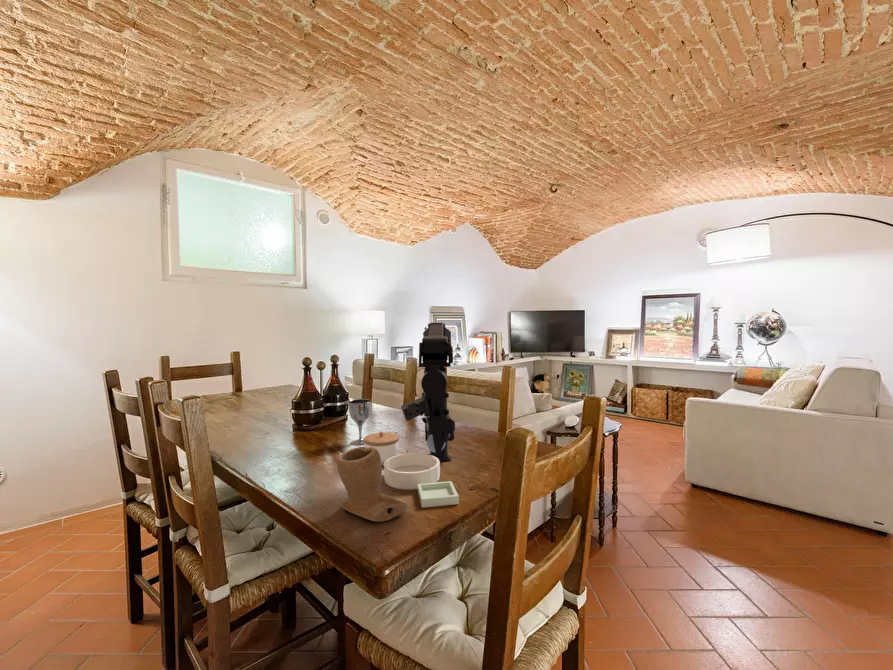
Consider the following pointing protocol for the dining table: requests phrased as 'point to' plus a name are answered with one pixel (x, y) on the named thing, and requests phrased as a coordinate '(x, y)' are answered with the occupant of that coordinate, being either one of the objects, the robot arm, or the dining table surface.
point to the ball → (431, 444)
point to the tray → (437, 494)
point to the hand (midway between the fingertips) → (436, 450)
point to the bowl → (411, 470)
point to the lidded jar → (383, 444)
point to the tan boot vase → (366, 485)
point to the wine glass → (359, 415)
